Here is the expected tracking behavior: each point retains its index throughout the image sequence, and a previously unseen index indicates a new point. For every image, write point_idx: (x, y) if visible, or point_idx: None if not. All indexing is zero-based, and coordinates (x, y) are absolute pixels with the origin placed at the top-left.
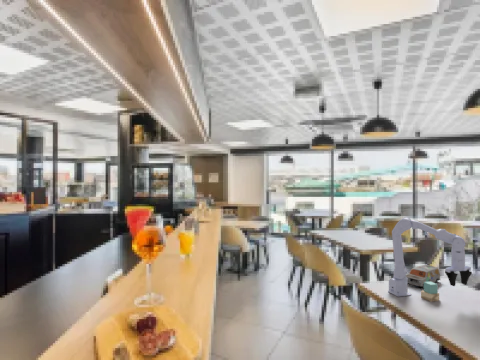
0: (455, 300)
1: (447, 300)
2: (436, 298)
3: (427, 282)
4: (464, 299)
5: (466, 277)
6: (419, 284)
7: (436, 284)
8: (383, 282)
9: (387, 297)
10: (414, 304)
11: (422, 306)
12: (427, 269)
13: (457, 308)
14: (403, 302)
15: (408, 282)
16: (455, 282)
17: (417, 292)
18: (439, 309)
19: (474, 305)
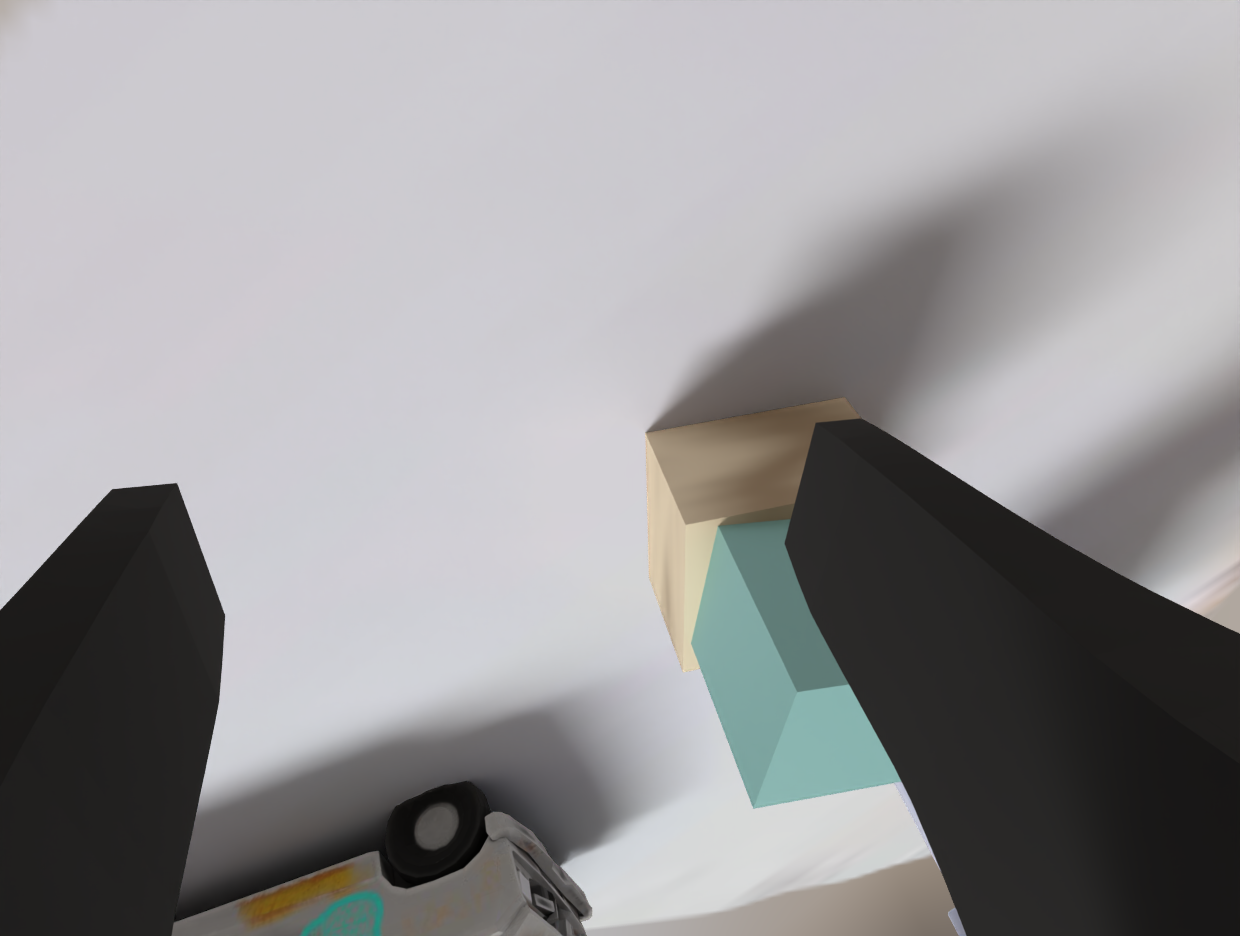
0: (312, 391)
1: (491, 411)
2: (731, 448)
3: (883, 762)
4: (22, 410)
5: (2, 864)
6: (522, 845)
7: (825, 683)
8: (765, 879)
9: (1190, 569)
10: (1183, 349)
11: (1177, 264)
12: None
13: (695, 14)
14: (1220, 428)
15: (576, 888)
16: (928, 502)
17: (674, 685)
18: (1092, 80)
19: (25, 51)
